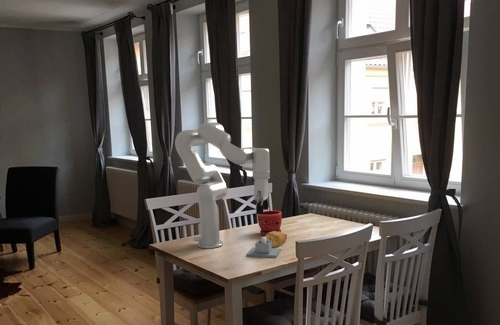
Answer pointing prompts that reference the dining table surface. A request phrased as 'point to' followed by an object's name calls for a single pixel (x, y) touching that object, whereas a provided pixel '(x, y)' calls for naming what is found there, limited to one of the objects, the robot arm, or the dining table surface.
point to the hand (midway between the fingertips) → (262, 211)
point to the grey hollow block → (263, 247)
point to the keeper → (272, 254)
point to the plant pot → (269, 221)
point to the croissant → (276, 238)
